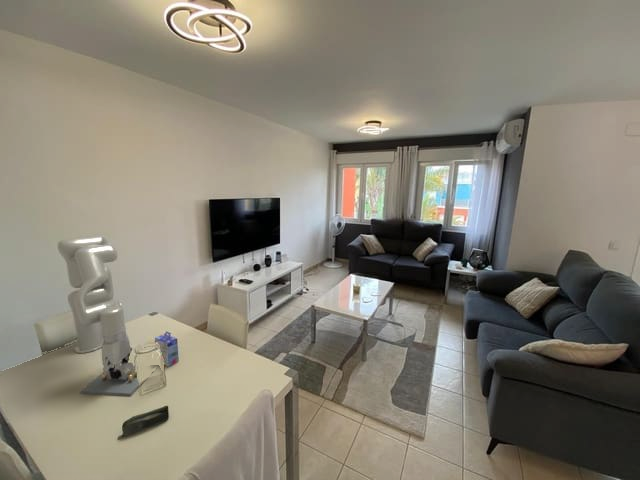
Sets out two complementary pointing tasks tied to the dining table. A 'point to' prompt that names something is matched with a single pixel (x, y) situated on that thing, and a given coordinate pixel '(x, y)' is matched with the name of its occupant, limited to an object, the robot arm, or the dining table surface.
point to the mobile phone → (144, 420)
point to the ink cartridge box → (168, 348)
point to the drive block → (122, 370)
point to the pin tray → (112, 385)
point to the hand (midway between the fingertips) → (120, 373)
